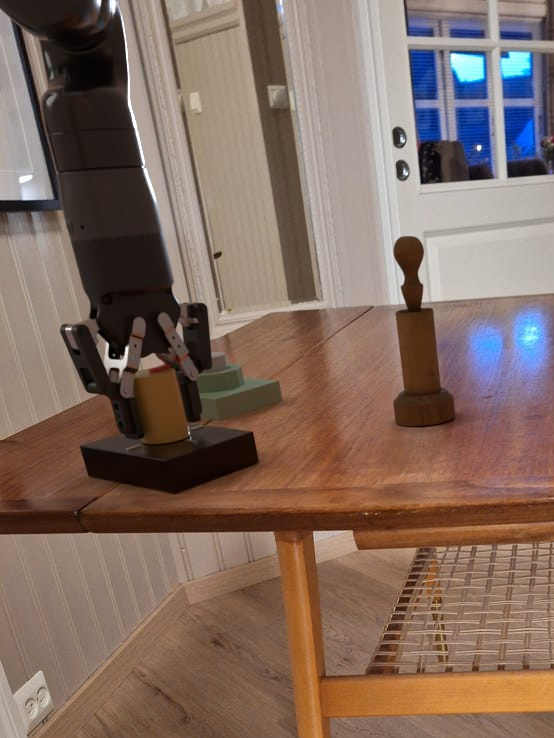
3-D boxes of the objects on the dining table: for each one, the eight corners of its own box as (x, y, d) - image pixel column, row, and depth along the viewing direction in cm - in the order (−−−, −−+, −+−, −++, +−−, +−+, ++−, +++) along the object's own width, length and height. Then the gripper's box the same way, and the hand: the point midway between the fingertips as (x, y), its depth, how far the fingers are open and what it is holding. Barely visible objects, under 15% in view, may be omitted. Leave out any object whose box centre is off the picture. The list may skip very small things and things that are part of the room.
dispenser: (154, 412, 106) (145, 375, 103) (218, 394, 113) (210, 358, 111) (219, 421, 99) (211, 381, 97) (282, 401, 106) (276, 363, 104)
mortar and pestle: (407, 411, 97) (388, 235, 89) (462, 411, 96) (448, 231, 87) (386, 427, 92) (364, 240, 83) (445, 427, 90) (428, 236, 81)
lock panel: (88, 476, 83) (78, 443, 81) (173, 448, 90) (166, 418, 88) (174, 494, 76) (165, 458, 74) (259, 462, 83) (253, 429, 82)
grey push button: (187, 375, 104) (183, 357, 103) (213, 368, 106) (210, 351, 106) (209, 377, 102) (205, 359, 101) (235, 370, 104) (232, 352, 103)
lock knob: (163, 446, 79) (145, 375, 76) (131, 441, 81) (113, 372, 78) (200, 433, 82) (185, 365, 79) (169, 430, 84) (153, 363, 81)
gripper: (64, 238, 66) (122, 454, 74) (212, 222, 76) (249, 414, 84) (11, 240, 70) (72, 446, 78) (159, 225, 80) (199, 408, 88)
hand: (164, 428), depth 81 cm, fingers open, 5 cm apart
